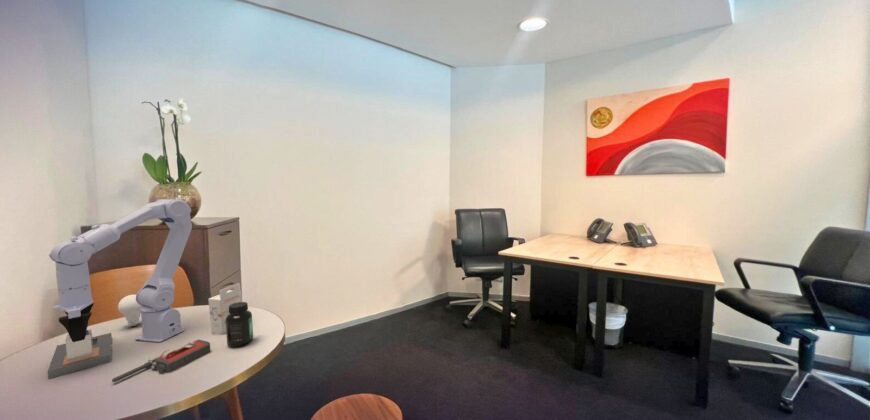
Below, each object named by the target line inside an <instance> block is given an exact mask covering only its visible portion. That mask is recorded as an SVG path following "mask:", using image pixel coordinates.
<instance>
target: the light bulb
mask: <svg viewBox="0 0 870 420" xmlns="http://www.w3.org/2000/svg"><path fill="white" fill-rule="evenodd" d="M117 308H118V311H119V313H121V314H122V315H123V316H124V317H125V320H126V321H127V326H128V327H131V328H133V327H136V326H138V325H139V324H140V318H141V305H140V304H138V303H137V301H136V294H129V295H126V296H124V297H122V298H121V299H120V301H119V303H118V306H117Z"/></svg>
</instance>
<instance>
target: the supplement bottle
mask: <svg viewBox="0 0 870 420" xmlns="http://www.w3.org/2000/svg"><path fill="white" fill-rule="evenodd" d="M229 313H230V314H229V315H228V316H227V317H226V333H225V335H226V344H227V347H229V348H231V349H239V348H244V347H246V346H249V345H250V344H252V342H253V341H254V329H253V328H254V327H253V314H252V312H251V311H250V310H249V306H248V302H247V301H242V302H238V303H234V304H231V305H230V306H229Z"/></svg>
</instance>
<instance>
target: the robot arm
mask: <svg viewBox="0 0 870 420" xmlns="http://www.w3.org/2000/svg"><path fill="white" fill-rule="evenodd" d="M191 212H192V208H191V207H190V205H188V203H187V202H186V201H185V200H183V199H180V198H179V199H171V198H169V199H167V198H159V199H157V200H155V201H154V202H153V201H152V202H149V203H148V204H146V205H144V206H142V207H140V208H139V209H137V210H136V211H133V212H131V213H130V214H128V215H126V216H124V217H123V218H121V219H119V220H117V221H115V222H114V223H112V224H107V223H102V224H100V225H99V224H94V225H92V226H91V227H90V228H91V229H89V230H88V231H85V232H83V233H81V234H80V235H77V236H76V235H74V236H72V237H70V241H63V242H59V243H58V244H55V246H53V247H52V249H51V251H50V253H49V254H48V256H49V258H50V260H52V261H53V262H54V264H55V275H56V277H55V278H56V285H57V292H58V301H59V302H58V303H59V304H57V305H54V306H53V307H52V310H53V311H58V310H59V311H60V310H61V311H62V312H63V313H65V314H66V316H59V317H58V322H59V323H60V324H61V325H62V326H63V327H64V328H65V329H66V331H67V334H69V336H70V338H71V340H72V342H77V341H81V340H85V336H86V330H88V326H89V320H90V318H91V316H92V314H93V312H91V311H92V309H93V307H94V299H93V298H92V297H93V296H92V287H91V280H90V279H91V278H90V270H89V264H88V261H89V260H90V259H91V257H92V255H94V254H96V253H97V252H99V251H101V250H103V249H105V248H106V247H108V246H110V245H112V244H114V243H116V242H117V241H119V240H120V238H121V236H122V234H123V233H125V232H127V231H129V230H131V229H133V228H135V227H137V226H139V225H141V224H143V223H146V222H147V221H149V220H153V219H156V220H157V219H159V220H161V221H163V222H164V223H165V224H166V226H167V227H168V228H169V232H168V234H167V237H166V239H165V242H164V244H163V246H162V247H163V248H162V250H161V252H160V254H159V258H158V259H157V262H156V265H155V267H154V270H153V271H152V272H153V273H152V275H151V276H150V277H149V278H148V279H147V280H145V281H144V283H143V285H142V287H141V288H140V289H138V291H137V293H136V294H135V295H136V301H137V303H138V304H140V305H141V313H140V318H141V328H142V335H139V336H137V337H135V340H136V341H143V342H144V341H145V342H152V343H153V342H155V343H161V342H164V341H166V340H167V339H169V338H171V337H174V336H177V335H178V334H180V333H181V332H184V331H185V329H184V328H182V322H181V321H182V320H181V313H180V311H179V310H178V309H176V308H174V307H172V304H173V303H174V301H175V289H176V285H175V282H174V277H175V274H176V272H177V269H178V266H179V263H180V261H181V258H182V255H183V253H184V249H185V247H186V245H187V242H188V239H189V237H190V234H191V232H192V230H193V229H192V228H193V225H192V217H191Z"/></svg>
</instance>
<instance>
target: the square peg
mask: <svg viewBox="0 0 870 420" xmlns="http://www.w3.org/2000/svg"><path fill="white" fill-rule="evenodd" d="M92 337H93V333H92V328H90V329H87V330H86V336H85V340H81V341H77V342H72V340H71V338H70V336H69V333H67V335H66V337H65V344H66V350H67V359H68V362H71V361H74V360H78V359H82V358H86V357H90V356H93V341H92Z"/></svg>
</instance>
